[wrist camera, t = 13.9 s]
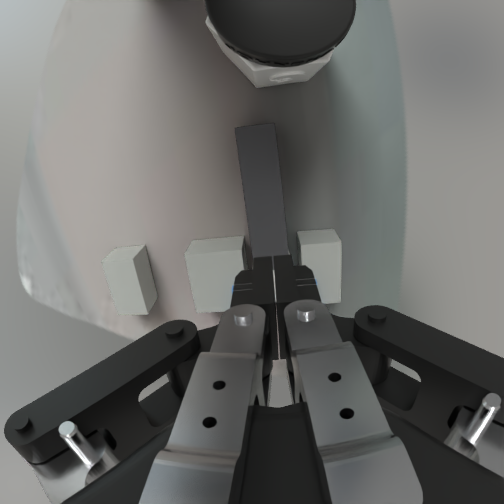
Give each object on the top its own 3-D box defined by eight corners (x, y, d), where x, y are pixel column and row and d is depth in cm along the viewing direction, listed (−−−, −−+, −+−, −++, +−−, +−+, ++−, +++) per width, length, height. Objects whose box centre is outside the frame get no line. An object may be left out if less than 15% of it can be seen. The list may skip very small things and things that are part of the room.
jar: (231, 95, 25) (209, 75, 14) (215, 15, 22) (186, -45, 11) (332, 81, 24) (379, 55, 13) (314, 1, 21) (343, -62, 10)
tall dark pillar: (236, 127, 27) (231, 128, 23) (275, 123, 26) (277, 122, 22) (257, 281, 32) (256, 303, 28) (291, 277, 32) (294, 299, 28)
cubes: (115, 247, 31) (96, 265, 27) (333, 228, 30) (343, 245, 26) (130, 302, 34) (116, 324, 30) (333, 289, 32) (342, 312, 28)
